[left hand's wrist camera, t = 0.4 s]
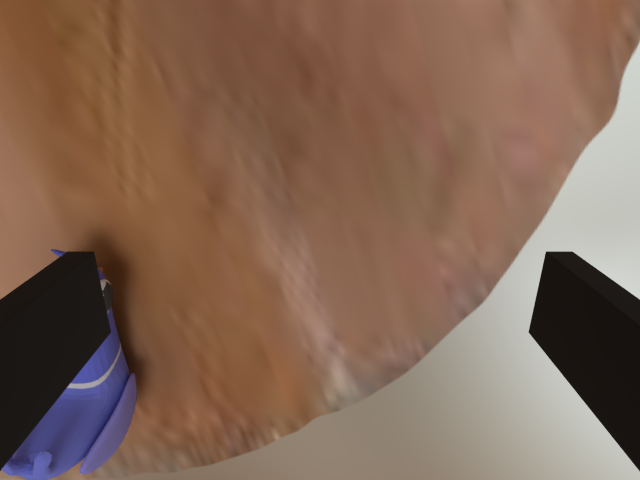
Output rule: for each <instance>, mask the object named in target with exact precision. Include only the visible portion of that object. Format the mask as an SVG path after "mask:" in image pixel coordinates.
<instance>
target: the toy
mask: <svg viewBox="0 0 640 480" xmlns="http://www.w3.org/2000/svg"><path fill="white" fill-rule="evenodd" d="M51 251H52V252H54V253H55V254H56V255H58V256H59V257H61V256H62V255H64V254H65V253H66V252H63V251H59V250H52V249H51ZM97 268H98V273H99V278H100V282H101V287H102V292H103V296H104V301H105V305H106V310H107V315H108V319H109V324H110V329H111V333H110V334H109V336H108V337H107V338H106V339H105V341H104V342H103V343H102V344H101V346H100V347H99V348H98V349H97V351H96V352H95V353H94V354H93V356H92V357H91V358H90V359H89V361H88V362H87V363H86V364H85V366H84V367H83V368H82V369H81V371H80V372H79V373H78V374H77V376H76V377H75V378H74V379H73V381H72V382H71V383H70V384H69V386H68V387H67V388H66V389H65V391H64V392H63V393H62V394H61V396H60V397H59V398H58V399H57V401H56V402H55V403H54V404H53V406H52V407H51V408H50V409H49V411H48V412H47V413H46V414H45V416H44V417H43V418H42V419H41V421H40V422H39V423H38V424H37V426H36V427H35V428H34V429H33V431H32V432H31V433H30V434H29V436H28V437H27V438H26V439H25V441H24V442H23V443H22V444H21V446H20V447H19V448H18V449H17V451H16V452H15V453H14V454H13V456H12V457H11V458H10V459H9V461H8V462H7V463H6V464H5V466H4V467H3V468H2V470H3V471H4V472H5V473H6V474H8V475H11V476H22V477H24V478H26V479H28V480H47V479H50V478H53V477H56V476H58V475H60V474H62V473H65V472H66V471H68V470H69V469H70V468H72V467H73V466H75V465H76V464H78V463H79V462H80V461H81V460H82V459H83V458H84V457H85V456H86V457H85V459H84V461H83V463H82V465H81V468H80V473H81V474H88V473H91V472H93V471H94V470H96V469H97V468H99V467H100V466H101V465H103V464H104V463H105V462H106V461H107V460H108V459H109V458H110V457H111V456H112V455H113V454H114V453H115V452H116V450H117V449H118V447H119V446H120V444H121V443H122V441H123V439H124V437H125V435H126V433H127V431H128V428H129V426H130V423H131V420H132V417H133V413H134V410H135V405H136V395H137V390H136V378H135V374H134V373H131V375H130V372H129V369H128V366H127V362H126V359H125V356H124V354H123V351H122V348H121V344H120V340H119V336H118V332H117V328H116V324H115V320H114V317H113V311H112V302H113V289H112V286H111V284H110V282H109V281H108V280H106V278H105V276H104V274H103V268H102V267H97Z"/></svg>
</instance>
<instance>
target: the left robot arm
mask: <svg viewBox="0 0 640 480" xmlns="http://www.w3.org/2000/svg"><path fill="white" fill-rule="evenodd" d="M110 333H111V329H110V324H109V319H108V315H107V310H106V305H105V301H104V296H103V292H102V287H101V282H100V278H99V273H98V268H97V264H96V259H95V254H94V252H66V253H65V254H64V255H62V256H61V257H59V258H58V259H57V260H55V261H54V262H52V263H51V264H50V265H48V266H47V267H45V268H44V269H43V270H41V271H40V272H38V273H37V274H36V275H34V276H33V277H31V278H30V279H29V280H27V281H26V282H24V283H23V284H22V285H20V286H19V287H17V288H16V289H15V290H13V291H12V292H10V293H9V294H8V295H6V296H5V297H3V298H2V299H1V300H0V471H1V469H2V468H3V467H4V466H5V464H6V463H7V462H8V461H9V459H10V458H11V457H12V456H13V454H14V453H15V452H16V451H17V449H18V448H19V447H20V446H21V444H22V443H23V442H24V441H25V439H26V438H27V437H28V436H29V434H30V433H31V432H32V431H33V429H34V428H35V427H36V426H37V424H38V423H39V422H40V421H41V419H42V418H43V417H44V416H45V414H46V413H47V412H48V411H49V409H50V408H51V407H52V406H53V404H54V403H55V402H56V401H57V399H58V398H59V397H60V396H61V394H62V393H63V392H64V391H65V389H66V388H67V387H68V386H69V384H70V383H71V382H72V381H73V379H74V378H75V377H76V376H77V374H78V373H79V372H80V371H81V369H82V368H83V367H84V366H85V364H86V363H87V362H88V361H89V359H90V358H91V357H92V356H93V354H94V353H95V352H96V351H97V349H98V348H99V347H100V346H101V344H102V343H103V342H104V341H105V339H106V338H107V337H108V336H109V334H110ZM529 333H530V334H531V336H532V337H533V338H534V339H535V341H536V342H537V343H538V344H539V346H540V347H541V348H542V349H543V351H544V352H545V353H546V354H547V356H548V357H549V358H550V359H551V361H552V362H553V363H554V364H555V366H556V367H557V368H558V369H559V371H560V372H561V373H562V374H563V376H564V377H565V378H566V379H567V381H568V382H569V383H570V384H571V386H572V387H573V388H574V389H575V391H576V392H577V393H578V394H579V396H580V397H581V398H582V399H583V401H584V402H585V403H586V404H587V406H588V407H589V408H590V409H591V411H592V412H593V413H594V414H595V416H596V417H597V418H598V419H599V421H600V422H601V423H602V424H603V426H604V427H605V428H606V429H607V431H608V432H609V433H610V434H611V436H612V437H613V438H614V439H615V441H616V442H617V443H618V444H619V446H620V447H621V448H622V449H623V451H624V452H625V453H626V454H627V456H628V457H629V458H630V459H631V461H632V462H633V463H634V464H635V466H636V467H637V468H638V469H639V471H640V300H639V299H638V298H637V297H635V296H634V295H632V294H631V293H630V292H628V291H627V290H625V289H624V288H622V287H621V286H620V285H618V284H617V283H616V282H614V281H613V280H611V279H610V278H609V277H607V276H606V275H604V274H603V273H602V272H600V271H599V270H597V269H596V268H595V267H593V266H592V265H590V264H589V263H588V262H586V261H585V260H583V259H582V258H581V257H579V256H578V255H576V254H575V253H574V252H546V254H545V259H544V264H543V269H542V273H541V278H540V282H539V287H538V292H537V296H536V301H535V306H534V310H533V315H532V319H531V324H530V329H529Z"/></svg>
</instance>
